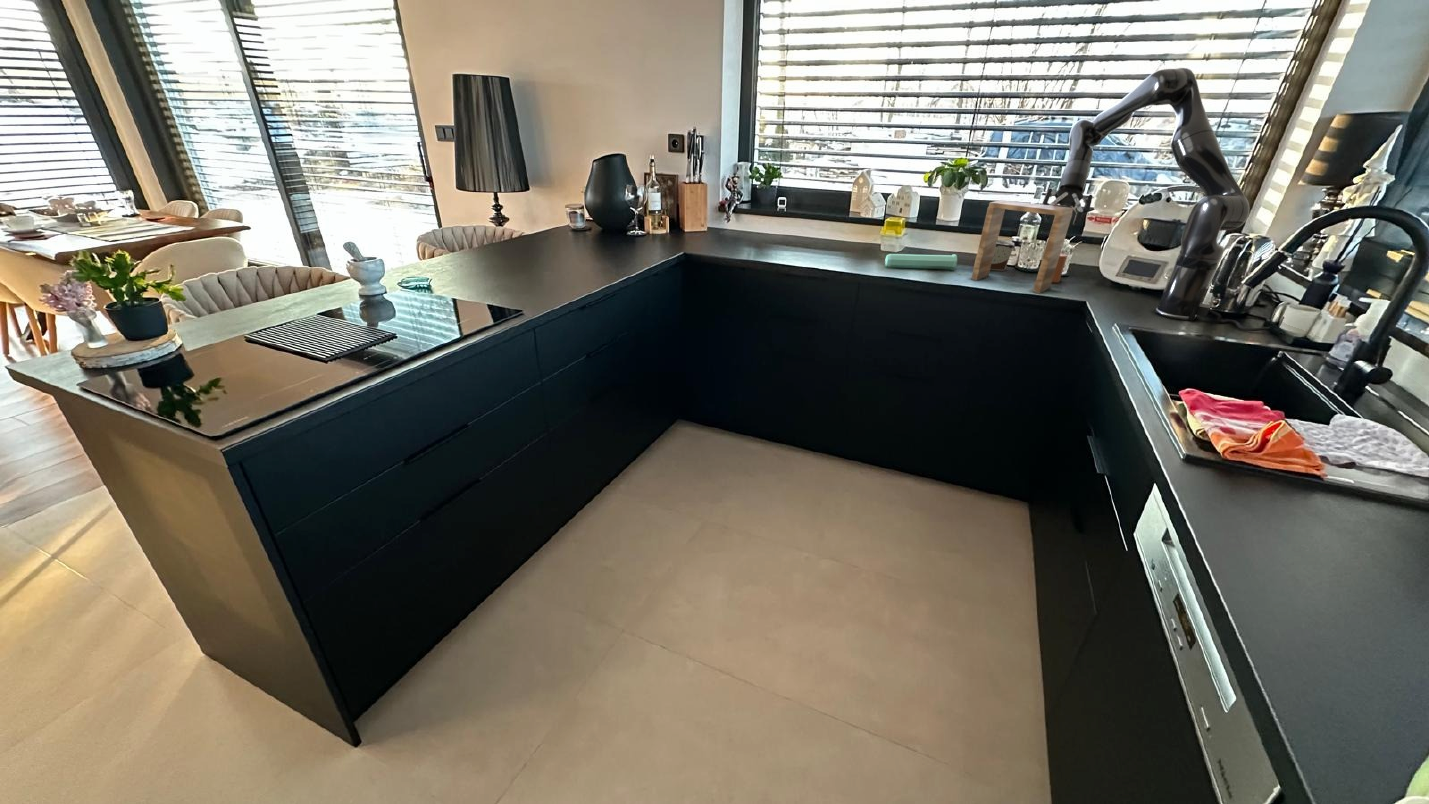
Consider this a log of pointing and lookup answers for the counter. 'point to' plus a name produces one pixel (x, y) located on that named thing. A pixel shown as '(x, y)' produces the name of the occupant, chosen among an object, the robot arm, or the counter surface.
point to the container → (921, 261)
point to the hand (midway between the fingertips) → (1060, 221)
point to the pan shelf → (1052, 247)
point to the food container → (1002, 255)
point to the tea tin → (1059, 268)
